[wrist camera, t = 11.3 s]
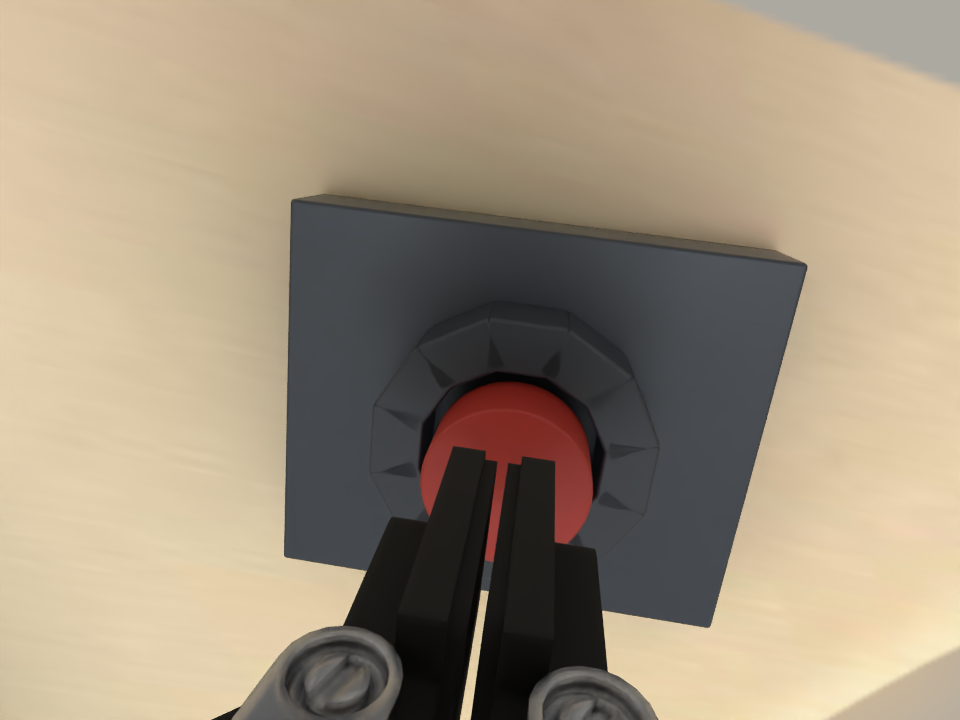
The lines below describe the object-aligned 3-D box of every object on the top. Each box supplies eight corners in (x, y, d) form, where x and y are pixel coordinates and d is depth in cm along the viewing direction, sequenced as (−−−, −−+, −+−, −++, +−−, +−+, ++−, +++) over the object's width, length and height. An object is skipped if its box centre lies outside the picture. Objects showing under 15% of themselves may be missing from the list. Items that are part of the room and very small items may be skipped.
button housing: (321, 193, 17) (256, 204, 14) (778, 250, 17) (843, 279, 13) (310, 517, 21) (254, 599, 17) (694, 579, 20) (727, 680, 16)
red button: (441, 369, 15) (427, 397, 13) (601, 392, 14) (606, 423, 13) (428, 509, 16) (412, 550, 14) (575, 532, 16) (578, 577, 14)
